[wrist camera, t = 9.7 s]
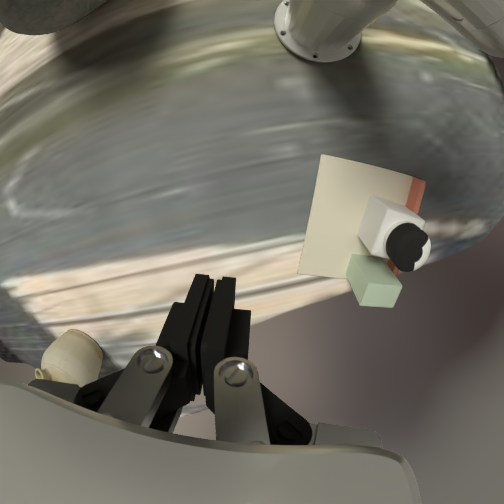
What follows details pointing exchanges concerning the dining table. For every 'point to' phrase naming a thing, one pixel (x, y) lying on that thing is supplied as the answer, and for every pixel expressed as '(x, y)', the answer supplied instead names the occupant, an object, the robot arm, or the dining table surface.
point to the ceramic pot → (44, 14)
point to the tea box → (372, 281)
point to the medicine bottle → (394, 234)
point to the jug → (71, 359)
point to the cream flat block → (349, 212)
